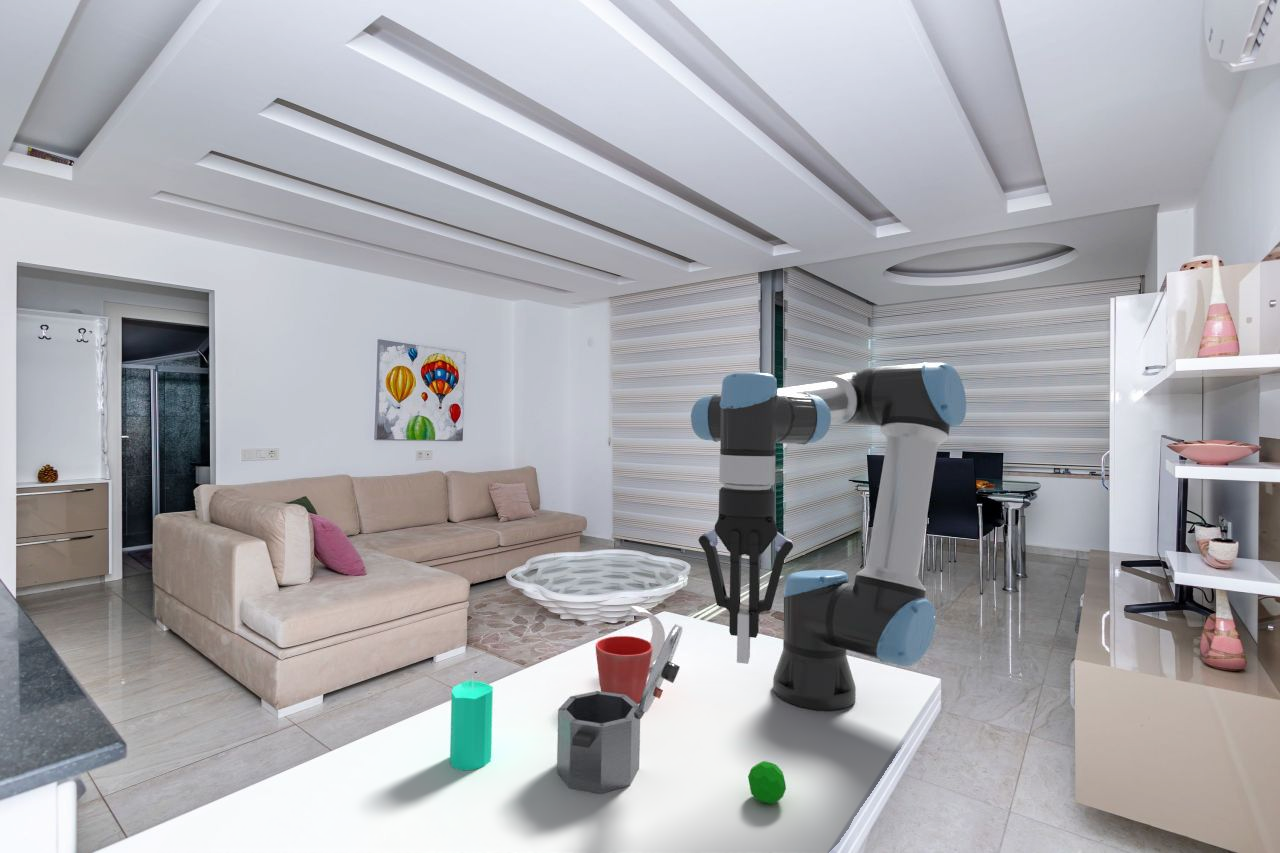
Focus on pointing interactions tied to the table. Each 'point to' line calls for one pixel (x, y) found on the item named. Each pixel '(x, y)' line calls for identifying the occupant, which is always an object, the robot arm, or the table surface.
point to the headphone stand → (653, 632)
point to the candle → (471, 725)
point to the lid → (660, 672)
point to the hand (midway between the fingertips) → (743, 659)
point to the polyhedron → (767, 782)
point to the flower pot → (624, 665)
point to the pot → (598, 741)
